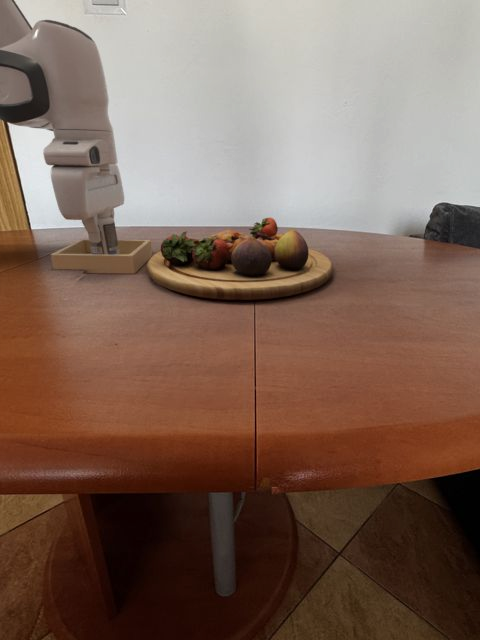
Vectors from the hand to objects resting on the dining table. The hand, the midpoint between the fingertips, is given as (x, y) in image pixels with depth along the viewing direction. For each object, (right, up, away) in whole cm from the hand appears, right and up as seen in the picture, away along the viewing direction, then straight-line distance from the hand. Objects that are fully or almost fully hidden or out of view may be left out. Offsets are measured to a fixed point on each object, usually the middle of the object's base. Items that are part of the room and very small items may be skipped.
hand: (102, 238), depth 68 cm
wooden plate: (+25, -6, -1) cm, 26 cm away
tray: (0, -4, +2) cm, 5 cm away
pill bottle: (0, -3, +2) cm, 3 cm away
